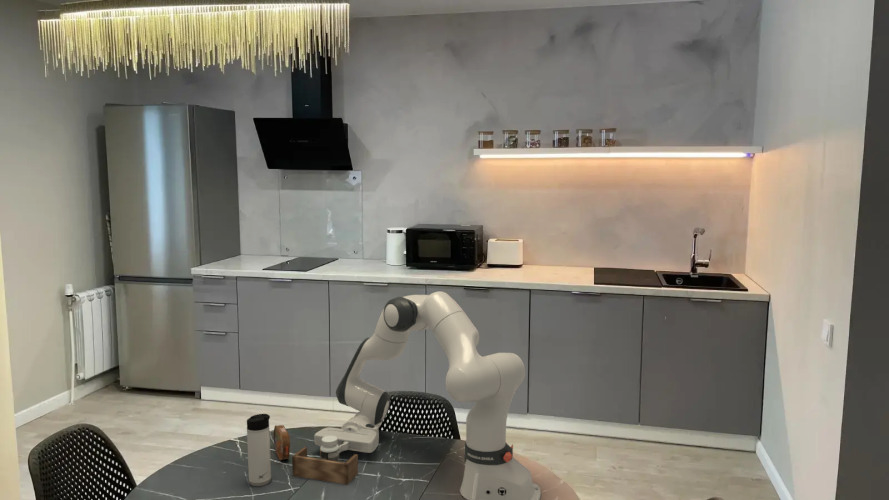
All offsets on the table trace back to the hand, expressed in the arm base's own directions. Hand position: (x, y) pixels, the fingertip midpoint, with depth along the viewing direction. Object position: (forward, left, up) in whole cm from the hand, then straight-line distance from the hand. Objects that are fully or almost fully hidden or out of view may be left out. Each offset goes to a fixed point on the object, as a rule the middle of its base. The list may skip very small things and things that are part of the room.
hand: (334, 450), depth 195 cm
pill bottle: (0, +3, -5) cm, 6 cm away
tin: (+20, -2, -5) cm, 21 cm away
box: (0, +6, -5) cm, 8 cm away
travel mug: (+16, +16, -5) cm, 23 cm away
